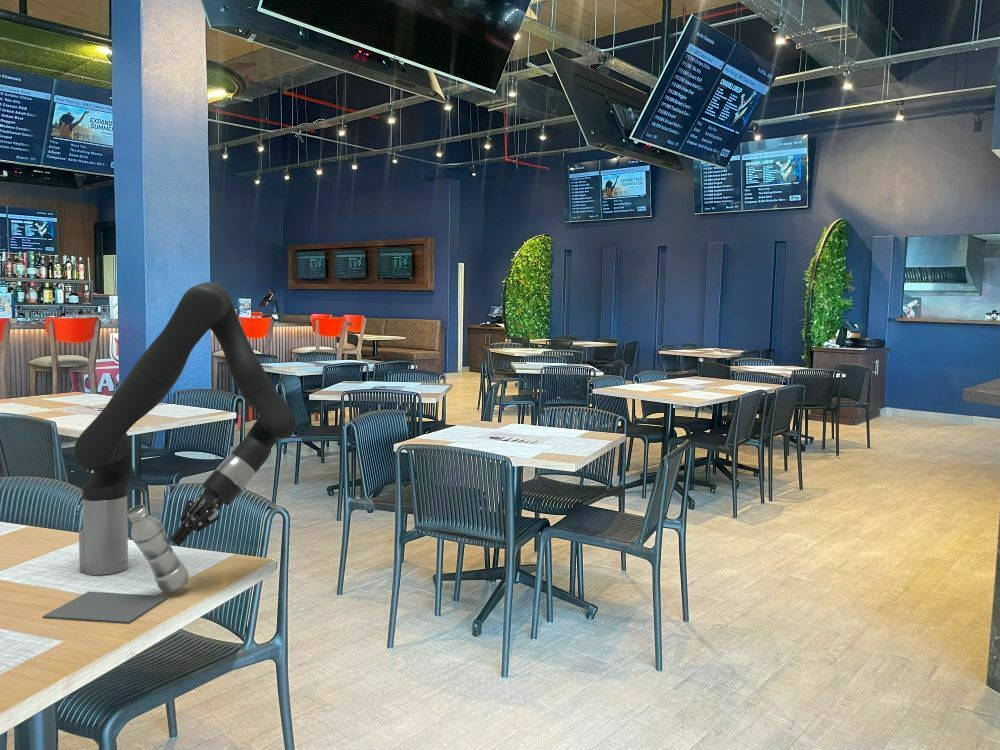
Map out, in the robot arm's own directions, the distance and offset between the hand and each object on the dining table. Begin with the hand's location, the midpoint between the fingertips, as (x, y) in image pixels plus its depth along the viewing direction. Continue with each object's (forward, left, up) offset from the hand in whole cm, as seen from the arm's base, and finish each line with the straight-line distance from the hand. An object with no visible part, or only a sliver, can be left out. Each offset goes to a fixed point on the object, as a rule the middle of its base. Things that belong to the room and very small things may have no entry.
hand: (174, 542), depth 165 cm
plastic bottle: (0, 0, -10) cm, 10 cm away
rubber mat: (-8, -10, -11) cm, 17 cm away
